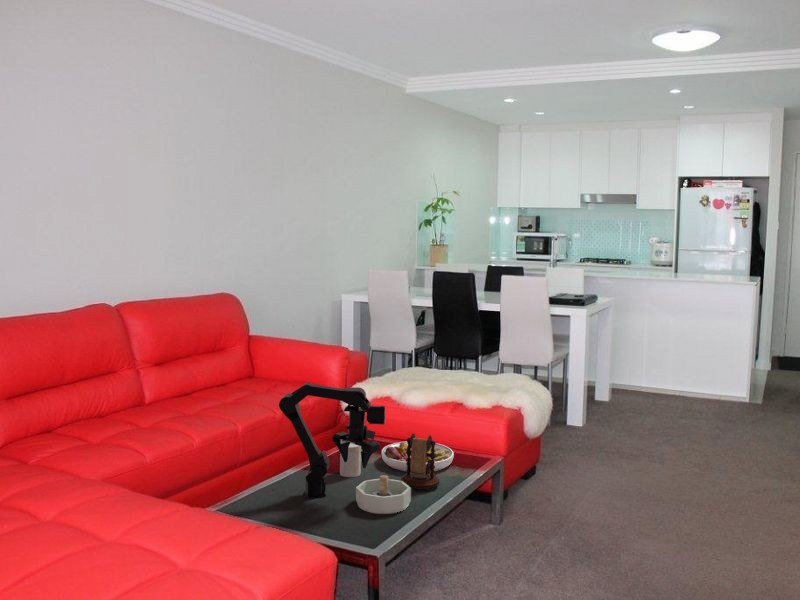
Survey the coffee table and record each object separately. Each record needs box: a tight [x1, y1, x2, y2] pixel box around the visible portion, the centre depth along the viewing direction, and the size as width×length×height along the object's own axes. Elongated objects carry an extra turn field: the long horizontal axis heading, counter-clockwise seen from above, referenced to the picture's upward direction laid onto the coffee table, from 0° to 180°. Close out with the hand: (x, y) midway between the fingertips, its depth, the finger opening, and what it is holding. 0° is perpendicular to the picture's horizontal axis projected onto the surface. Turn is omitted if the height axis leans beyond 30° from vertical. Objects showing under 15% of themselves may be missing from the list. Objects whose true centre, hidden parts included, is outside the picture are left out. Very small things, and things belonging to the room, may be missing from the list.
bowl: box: [381, 440, 455, 473], centre depth 314 cm, size 30×30×8 cm
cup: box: [339, 443, 362, 478], centre depth 298 cm, size 8×8×12 cm
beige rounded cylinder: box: [379, 474, 389, 497], centre depth 267 cm, size 3×3×9 cm
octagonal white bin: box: [355, 478, 412, 515], centre depth 268 cm, size 18×18×6 cm
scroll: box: [400, 432, 440, 492], centre depth 286 cm, size 15×15×20 cm
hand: (354, 465), depth 274 cm, fingers open, 9 cm apart
